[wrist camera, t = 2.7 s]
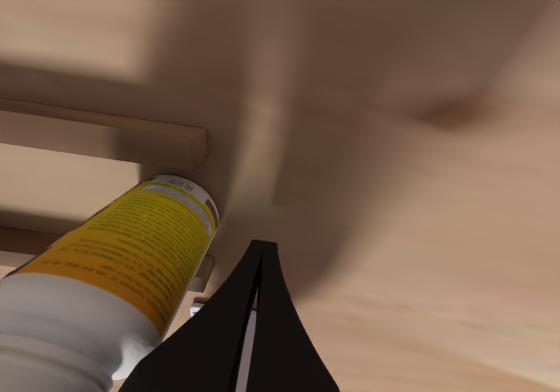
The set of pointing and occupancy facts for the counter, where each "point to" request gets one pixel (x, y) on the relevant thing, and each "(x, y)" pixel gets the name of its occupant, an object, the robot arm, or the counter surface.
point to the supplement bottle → (104, 290)
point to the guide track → (98, 143)
